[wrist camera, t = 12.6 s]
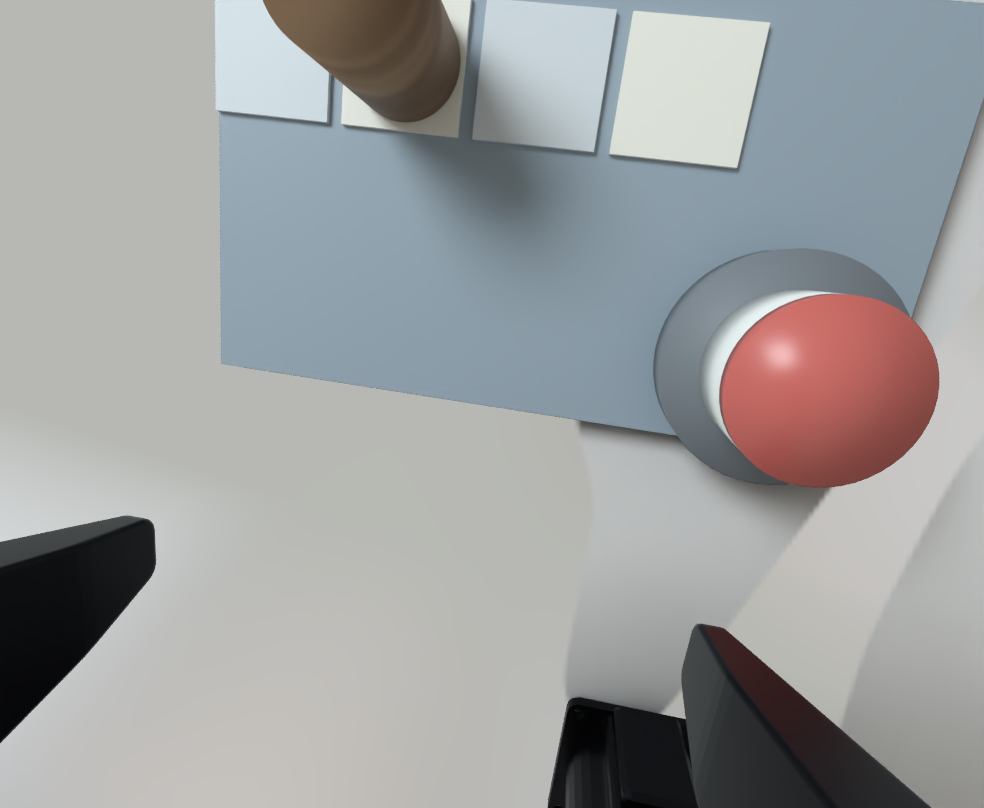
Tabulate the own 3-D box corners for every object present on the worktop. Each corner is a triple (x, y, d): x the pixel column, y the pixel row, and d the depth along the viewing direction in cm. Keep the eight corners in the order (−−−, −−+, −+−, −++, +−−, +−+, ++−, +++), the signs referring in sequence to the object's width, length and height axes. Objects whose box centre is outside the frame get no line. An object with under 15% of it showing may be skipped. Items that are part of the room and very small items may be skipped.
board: (841, 475, 20) (879, 503, 18) (235, 378, 22) (196, 392, 20) (987, 20, 16) (1060, -22, 14) (236, -42, 19) (187, -87, 16)
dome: (846, 463, 18) (901, 502, 15) (682, 437, 18) (705, 470, 15) (898, 301, 16) (969, 310, 13) (719, 278, 17) (752, 281, 14)
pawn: (452, 129, 18) (406, 68, 12) (347, 114, 18) (251, 47, 12) (467, 3, 17) (424, -129, 11) (355, -11, 17) (256, -147, 11)
